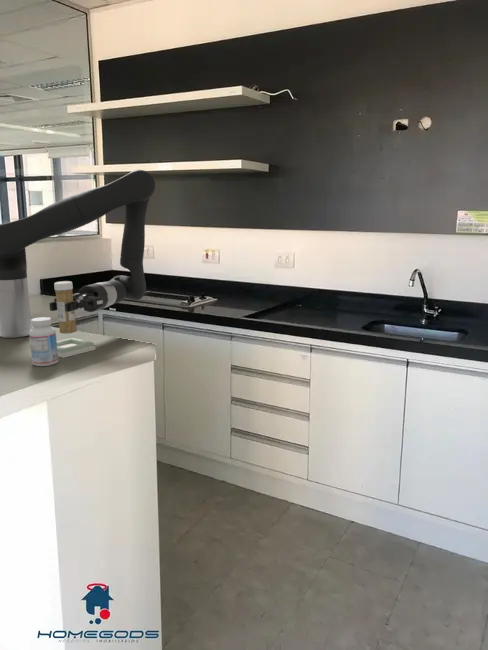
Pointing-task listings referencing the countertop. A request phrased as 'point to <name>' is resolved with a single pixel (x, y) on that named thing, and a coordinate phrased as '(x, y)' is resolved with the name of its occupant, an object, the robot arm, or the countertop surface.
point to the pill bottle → (43, 342)
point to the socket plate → (73, 347)
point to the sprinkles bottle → (63, 297)
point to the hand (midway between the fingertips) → (58, 307)
